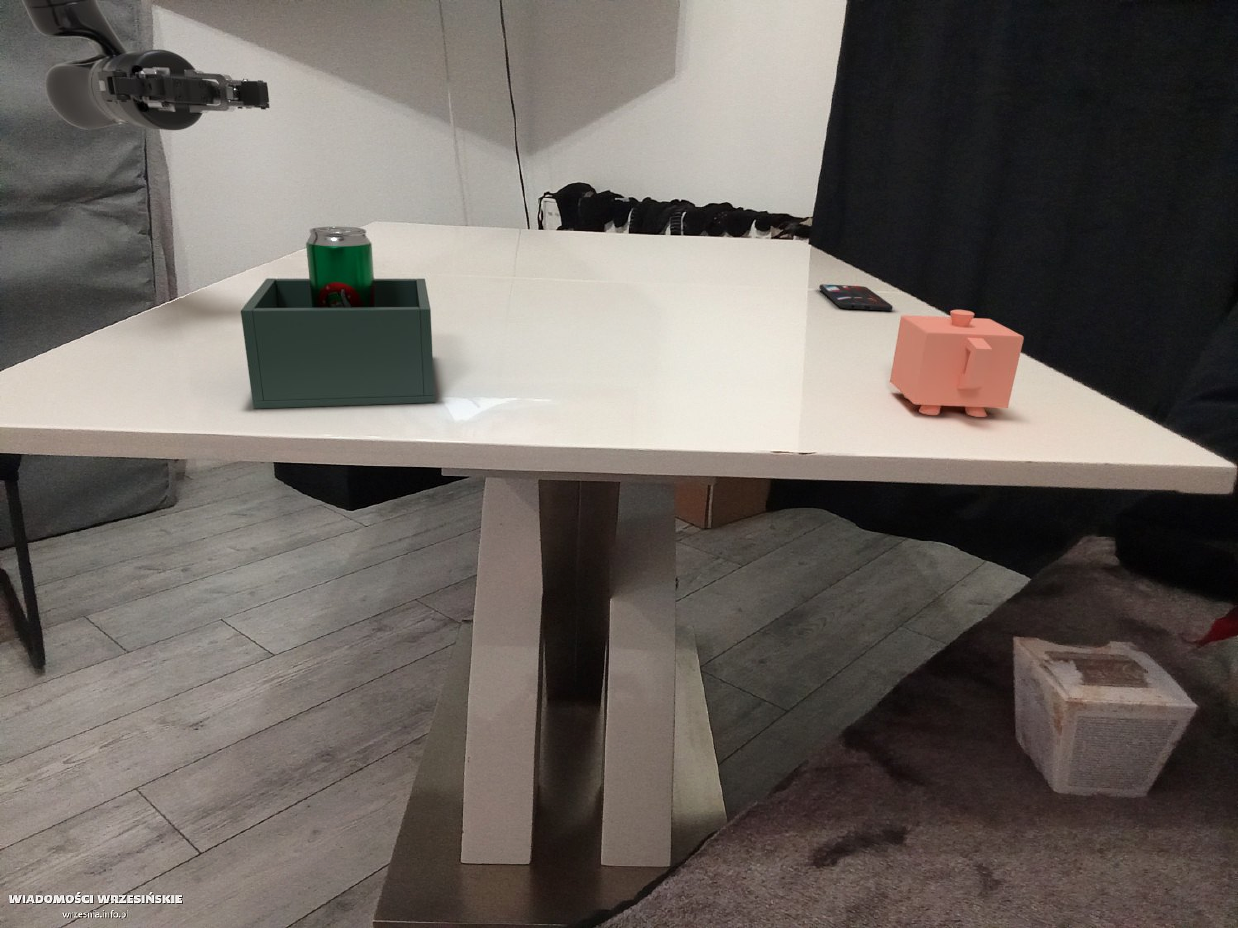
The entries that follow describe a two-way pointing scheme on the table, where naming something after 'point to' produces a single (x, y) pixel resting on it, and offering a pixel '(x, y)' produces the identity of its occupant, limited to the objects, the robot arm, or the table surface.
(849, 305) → the smartphone
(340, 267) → the soda can
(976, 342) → the pink cube teapot
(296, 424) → the table surface
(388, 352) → the bin
